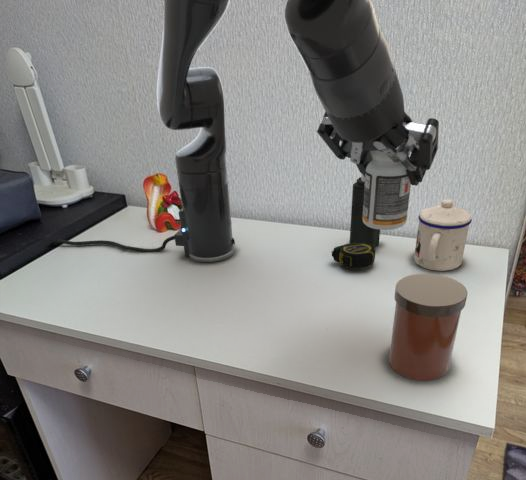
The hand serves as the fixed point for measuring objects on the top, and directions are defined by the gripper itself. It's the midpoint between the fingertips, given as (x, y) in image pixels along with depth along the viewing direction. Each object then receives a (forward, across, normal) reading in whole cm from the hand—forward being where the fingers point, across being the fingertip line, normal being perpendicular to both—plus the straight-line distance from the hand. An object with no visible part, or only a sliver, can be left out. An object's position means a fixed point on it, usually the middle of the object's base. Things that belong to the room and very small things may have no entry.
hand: (393, 175), depth 63 cm
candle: (+35, +16, -3) cm, 38 cm away
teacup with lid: (+34, 0, -2) cm, 34 cm away
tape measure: (+29, +14, +4) cm, 32 cm away
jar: (+13, -9, +20) cm, 25 cm away
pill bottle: (+3, 0, +6) cm, 6 cm away
